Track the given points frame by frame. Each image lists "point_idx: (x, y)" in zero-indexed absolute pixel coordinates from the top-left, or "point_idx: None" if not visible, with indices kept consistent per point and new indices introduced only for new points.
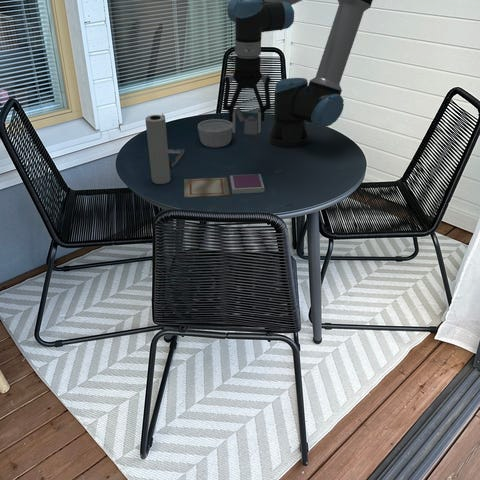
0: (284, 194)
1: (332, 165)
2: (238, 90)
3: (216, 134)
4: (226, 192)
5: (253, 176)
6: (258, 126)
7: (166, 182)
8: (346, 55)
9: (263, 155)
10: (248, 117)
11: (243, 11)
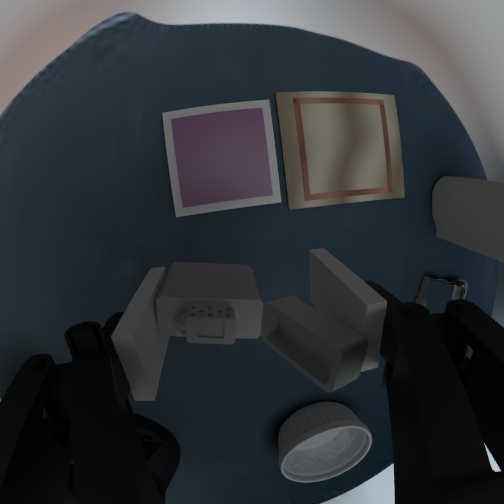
0: (106, 111)
1: (5, 310)
2: (486, 479)
3: (327, 423)
4: (285, 105)
5: (199, 190)
6: (155, 281)
7: (438, 180)
8: None
9: (181, 374)
10: (232, 318)
11: None
